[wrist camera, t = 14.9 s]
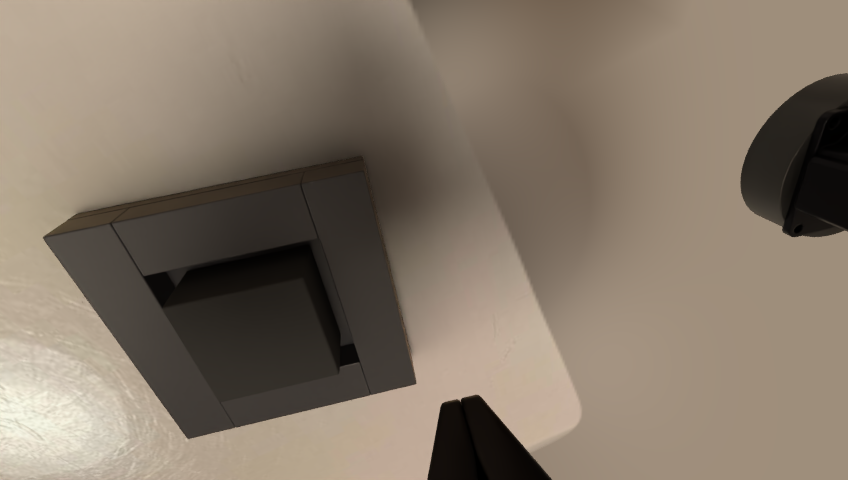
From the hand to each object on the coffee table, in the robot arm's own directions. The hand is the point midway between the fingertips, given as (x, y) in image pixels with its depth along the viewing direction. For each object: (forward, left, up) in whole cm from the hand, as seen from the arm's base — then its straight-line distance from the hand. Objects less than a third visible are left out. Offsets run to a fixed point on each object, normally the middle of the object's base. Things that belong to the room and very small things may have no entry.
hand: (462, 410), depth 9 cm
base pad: (+7, +3, -12) cm, 14 cm away
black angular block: (+7, +3, -11) cm, 14 cm away
